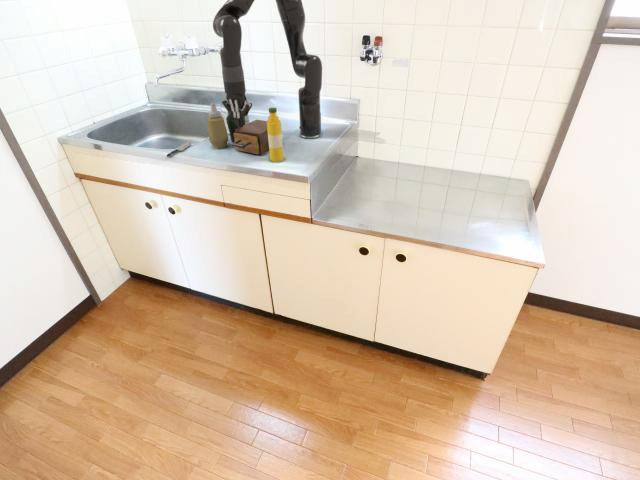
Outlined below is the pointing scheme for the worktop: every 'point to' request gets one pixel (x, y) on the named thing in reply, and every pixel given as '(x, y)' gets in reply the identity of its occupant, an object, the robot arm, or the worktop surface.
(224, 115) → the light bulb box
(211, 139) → the squeeze bottle
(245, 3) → the robot arm
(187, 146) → the chef's knife
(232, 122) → the potion bottle
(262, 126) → the cabinet
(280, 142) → the lemon bottle
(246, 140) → the drawer
